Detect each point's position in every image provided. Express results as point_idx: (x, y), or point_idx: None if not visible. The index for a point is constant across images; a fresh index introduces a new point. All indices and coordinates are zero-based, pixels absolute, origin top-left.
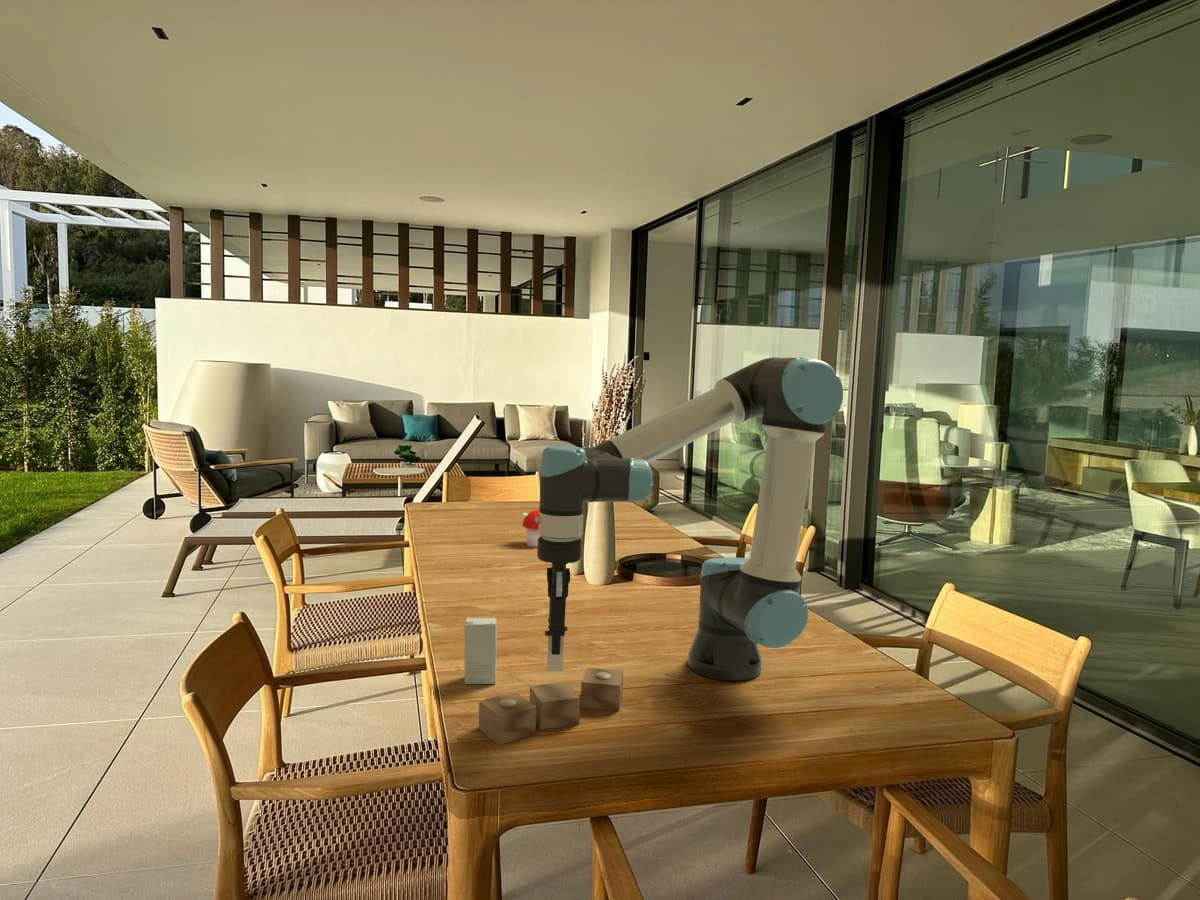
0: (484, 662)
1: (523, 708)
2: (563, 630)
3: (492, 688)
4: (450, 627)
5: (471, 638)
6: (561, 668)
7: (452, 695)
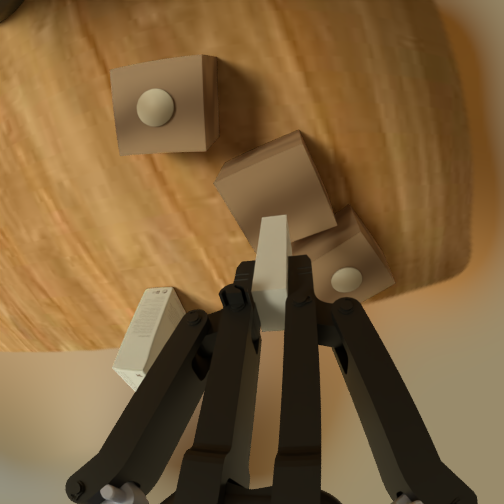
0: (171, 326)
1: (366, 252)
2: (368, 319)
3: (187, 287)
4: (58, 338)
5: None
6: (286, 221)
7: None
